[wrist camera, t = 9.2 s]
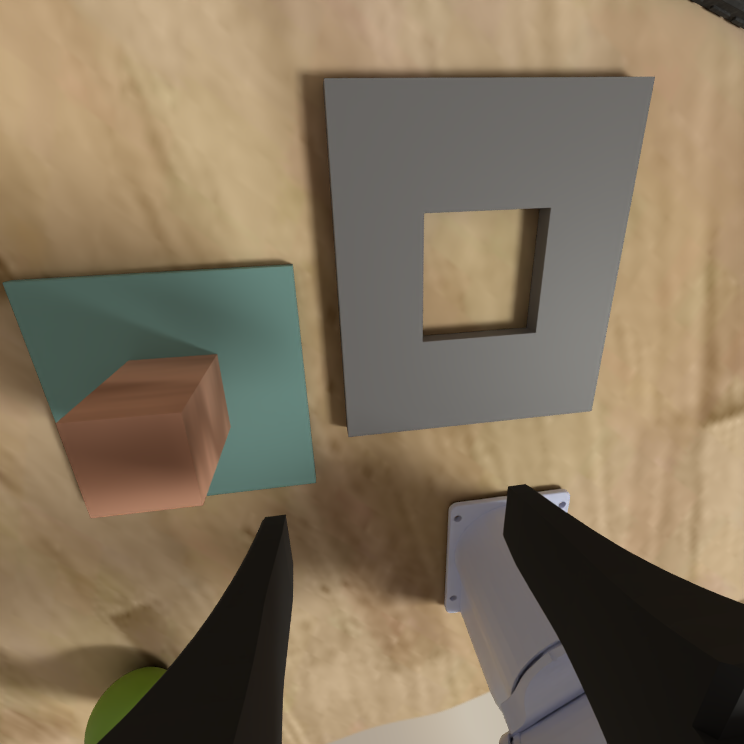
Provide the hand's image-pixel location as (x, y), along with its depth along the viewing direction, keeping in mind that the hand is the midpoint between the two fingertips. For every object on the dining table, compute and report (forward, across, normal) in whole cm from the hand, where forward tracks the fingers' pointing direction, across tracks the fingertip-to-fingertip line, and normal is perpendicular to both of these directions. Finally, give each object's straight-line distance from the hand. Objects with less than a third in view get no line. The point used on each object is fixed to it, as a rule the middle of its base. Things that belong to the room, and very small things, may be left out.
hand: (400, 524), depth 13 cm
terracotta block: (+9, +9, -1) cm, 13 cm away
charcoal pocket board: (+10, -6, -6) cm, 13 cm away
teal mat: (+10, +9, -1) cm, 13 cm away
